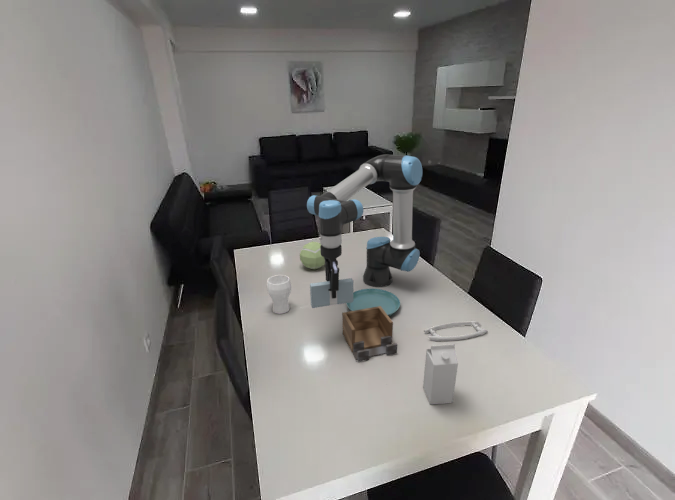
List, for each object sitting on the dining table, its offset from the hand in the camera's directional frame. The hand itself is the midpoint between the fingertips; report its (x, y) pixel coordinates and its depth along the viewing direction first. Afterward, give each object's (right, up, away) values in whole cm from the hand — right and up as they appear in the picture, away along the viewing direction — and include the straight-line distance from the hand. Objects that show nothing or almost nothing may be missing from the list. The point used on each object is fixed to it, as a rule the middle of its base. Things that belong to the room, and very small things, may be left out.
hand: (332, 302), depth 133 cm
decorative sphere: (-11, +10, +66) cm, 68 cm away
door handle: (+49, -14, +7) cm, 51 cm away
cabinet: (+14, -16, +1) cm, 21 cm away
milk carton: (+33, -26, -23) cm, 48 cm away
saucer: (+18, -6, +26) cm, 32 cm away
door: (0, -1, 0) cm, 1 cm away
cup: (-24, -7, +26) cm, 35 cm away
